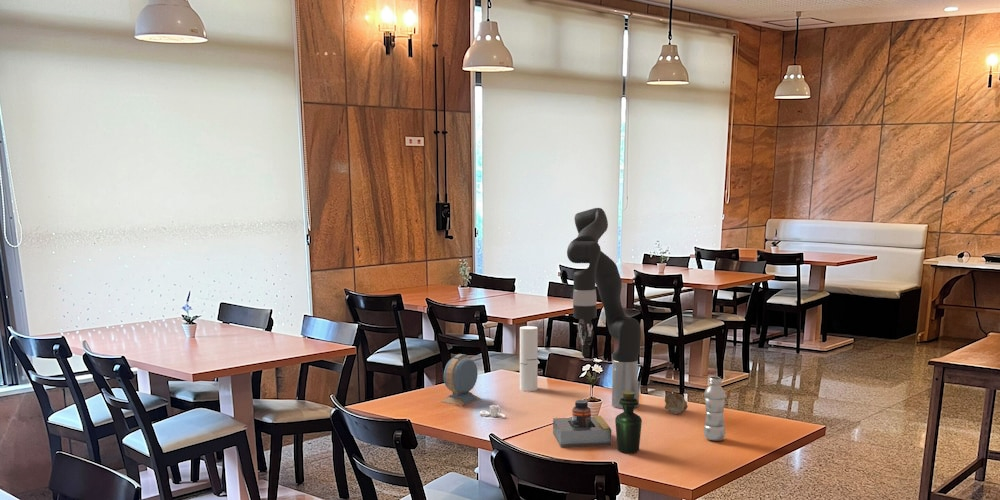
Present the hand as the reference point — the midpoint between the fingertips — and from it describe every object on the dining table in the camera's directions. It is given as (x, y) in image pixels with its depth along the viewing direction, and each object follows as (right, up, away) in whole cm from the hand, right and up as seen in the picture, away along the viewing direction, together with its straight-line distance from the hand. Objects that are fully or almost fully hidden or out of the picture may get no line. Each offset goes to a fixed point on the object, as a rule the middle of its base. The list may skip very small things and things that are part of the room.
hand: (585, 356), depth 248 cm
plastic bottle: (+41, -26, -3) cm, 49 cm away
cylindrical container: (-16, -22, +61) cm, 67 cm away
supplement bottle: (-2, -25, -3) cm, 26 cm away
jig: (-2, -26, -3) cm, 26 cm away
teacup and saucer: (-31, -25, +26) cm, 47 cm away
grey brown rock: (+35, -24, +28) cm, 51 cm away
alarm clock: (-43, -23, +44) cm, 66 cm away
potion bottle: (+12, -27, -13) cm, 32 cm away
